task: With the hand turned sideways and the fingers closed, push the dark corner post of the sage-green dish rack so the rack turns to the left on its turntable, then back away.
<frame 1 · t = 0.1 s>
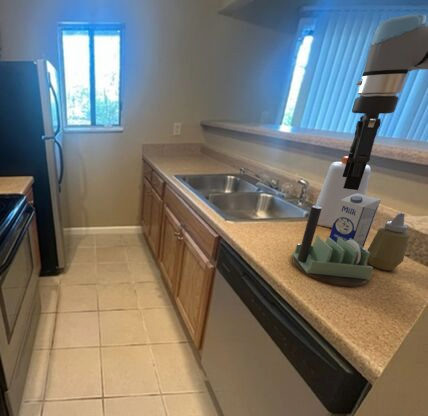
hand: (349, 182, 72), 29 cm above the worktop, tool pointing down, fingers open, 13 cm apart
dish rack: (335, 238, 81), point 11 cm above the worktop, hinge at 0.0°
milk carton: (342, 251, 95), on the worktop
plastic bottle: (332, 223, 117), on the worktop
turntable: (327, 269, 85), on the worktop
squeeze bottle: (380, 266, 86), on the worktop
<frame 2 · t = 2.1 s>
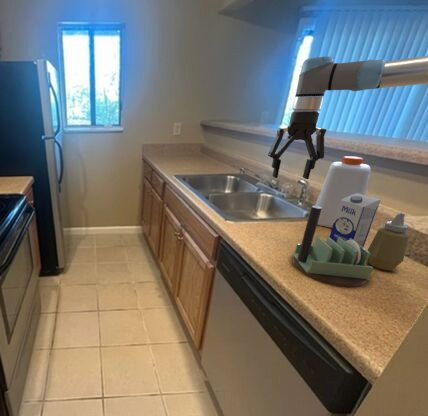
hand: (289, 177, 98), 23 cm above the worktop, tool pointing down, fingers open, 9 cm apart
nothing on the worktop moved.
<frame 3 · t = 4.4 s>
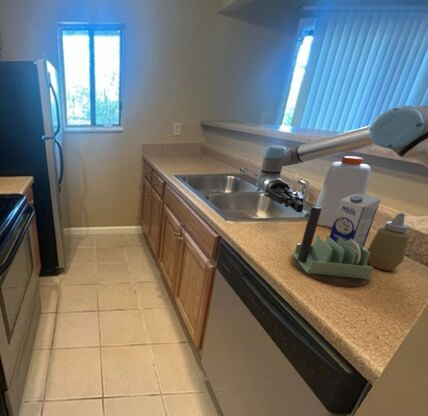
hand: (300, 208, 91), 15 cm above the worktop, tool horizontal, fingers closed
nothing on the worktop moved.
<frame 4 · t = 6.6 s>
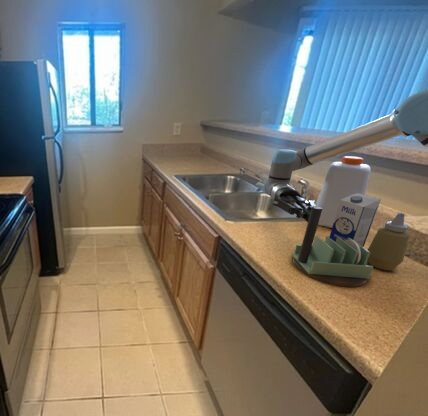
hand: (314, 220, 82), 15 cm above the worktop, tool horizontal, fingers closed
dish rack: (335, 238, 81), point 11 cm above the worktop, hinge at 3.1°, touching gripper
everything else where it was.
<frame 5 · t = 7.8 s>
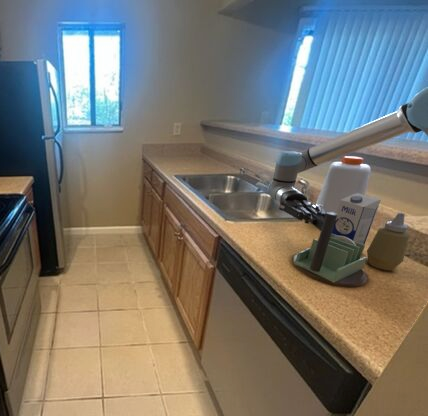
hand: (324, 227, 78), 15 cm above the worktop, tool horizontal, fingers closed
dish rack: (336, 238, 81), point 11 cm above the worktop, hinge at 39.0°, touching gripper
everything else where it was.
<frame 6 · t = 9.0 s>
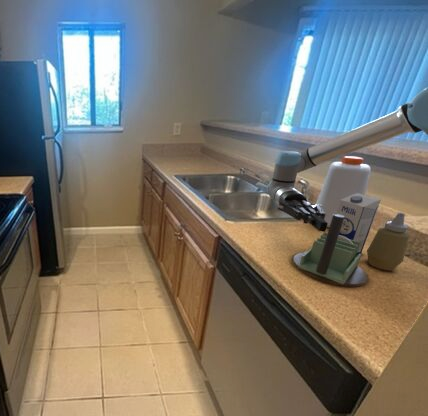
hand: (323, 227, 77), 16 cm above the worktop, tool horizontal, fingers closed
dish rack: (336, 239, 81), point 11 cm above the worktop, hinge at 51.1°
everything else where it was.
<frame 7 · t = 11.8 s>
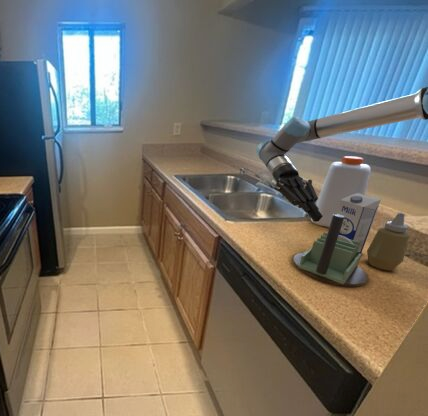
hand: (318, 218, 89), 13 cm above the worktop, tool tilted 60°, fingers closed
nothing on the worktop moved.
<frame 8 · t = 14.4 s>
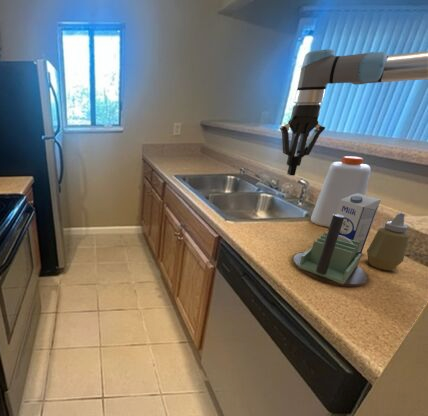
hand: (290, 174, 98), 24 cm above the worktop, tool pointing down, fingers closed
nothing on the worktop moved.
at the end: dish rack at +51° (first picture: +0°) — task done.
